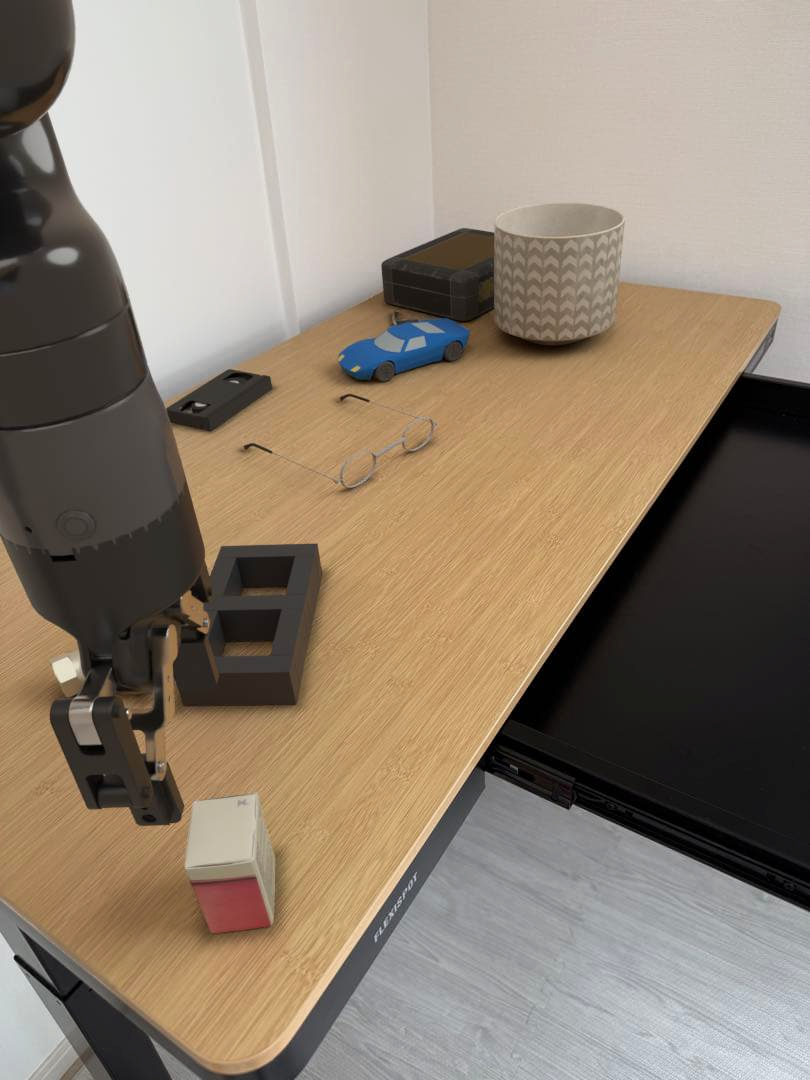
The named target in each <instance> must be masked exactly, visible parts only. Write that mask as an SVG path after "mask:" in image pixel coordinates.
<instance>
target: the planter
mask: <svg viewBox="0 0 810 1080" xmlns="http://www.w3.org/2000/svg"><path fill="white" fill-rule="evenodd" d="M625 223H626V218H625V215H624V214H623V213H622V212H621V211H619V210H617V209H615V208H612V207H609V206H606V205H600V204H594V203H587V202H573V201H571V202H564V201H563V202H544V203H543V202H542V203H535V204H534V203H533V204H529V205H524V206H519V207H515V208H511V209H509V210H508V209H507V210H506V211H504V212H502V213H500V214H499V215H498V216H496V217H495V219H494V224H493V225H494V227H493V229H494V231H493V232H494V308H493V321H494V323H495V325H496V327H497V328H498V329H500V330H501V331H502V332H504V333H506V334H509V335H512V336H514V337H518V338H520V339H522V340H525V341H527V342H530V343H533V344H536V345H541V346H552V347H553V346H565V345H570V344H574V343H577V342H580V341H582V340H585V339H586V338H591V337H594V336H597V335H599V334H602V333H604V332H606V331H607V330H609V329H610V328H611V327H613V325H614V323H615V321H616V316H617V305H618V296H619V295H618V294H619V287H620V285H619V284H620V274H621V264H622V254H623V244H624V243H623V242H624V235H625Z"/></svg>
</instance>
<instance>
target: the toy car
mask: <svg viewBox="0 0 810 1080" xmlns="http://www.w3.org/2000/svg"><path fill="white" fill-rule="evenodd" d="M469 337H470V330H469V329H468V328H467V327H465V326H463V325H461V324H459V323H457V322H455V321H453V319H451V318H446V317H443V318H427V319H421V320H419V321H417V322H410V323H405V324H400V325H396V326H394V325H392V326H389V327H387V328H386V330H384V331H383V332H381V333H380V334H379V335H377V337H372V338H365V339H362V340H359V341H356V342H353V343H352V344H349V345H348V346H346V347H345V348H344V349H342V350H341V351H340V352H339V354H338V356H337V362H338V365H339V366H340V367H341V369H342V370H343V372H345V373H346V374H347V375H349V376H351V377H353V378H355V379H357V380H368V381H370V380H371V379H372V377H374V378H375V379H376V380H378V381H379V382H382V383H384V382H385V383H386V382H388V381H390V380H391V379H392V378H393V377H394V375H396V374H399V373H403V372H405V371H408V370H411V369H414V368H418V367H421V366H424V365H427V364H431V363H435V362H440V361H442V360H443V358H444V359H445V360H447V361H449V362H454V361H457V360H458V359H459V358H460V356H461V355H462V352H463V350H464V349H465V348H466V345H467V344H468V341H469Z"/></svg>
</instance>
